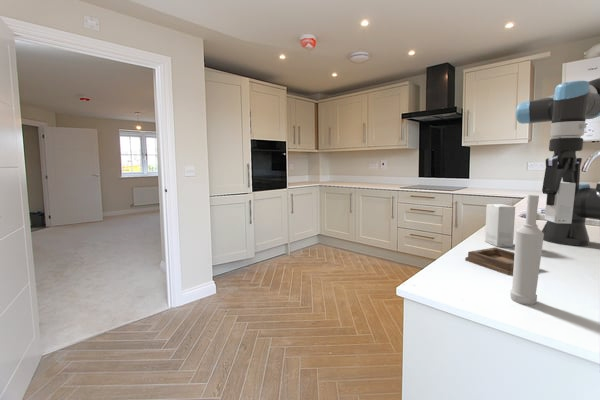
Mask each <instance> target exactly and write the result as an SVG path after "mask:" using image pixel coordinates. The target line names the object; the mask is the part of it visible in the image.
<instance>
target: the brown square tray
mask: <svg viewBox="0 0 600 400" xmlns="http://www.w3.org/2000/svg"><path fill="white" fill-rule="evenodd" d="M514 255H515V251H514V252H513V251H510V250H506V249H503V248H500V247H491V248H490V247H489V248H483V249H477V250H472V251H468V253H467V257H464V258H465V262H469V263H472V264H475V265H478V266H481V267H484V268H486V269H490V270H492V271H496V272H497V273H498V272H499V273H501V274H504V275H507V276H509V275H513V269H514Z"/></svg>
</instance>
